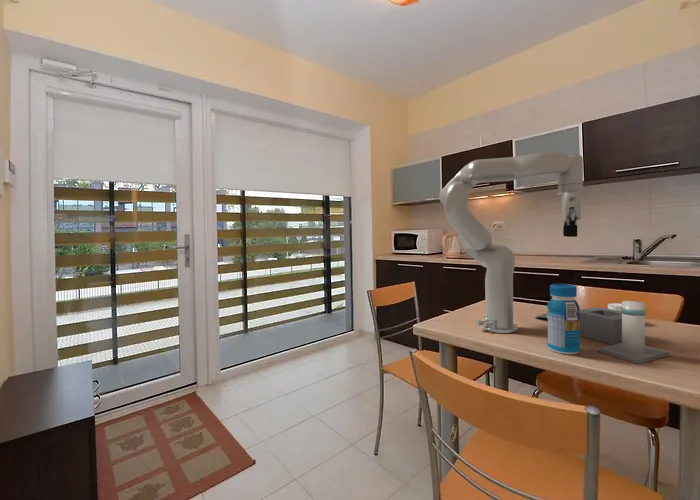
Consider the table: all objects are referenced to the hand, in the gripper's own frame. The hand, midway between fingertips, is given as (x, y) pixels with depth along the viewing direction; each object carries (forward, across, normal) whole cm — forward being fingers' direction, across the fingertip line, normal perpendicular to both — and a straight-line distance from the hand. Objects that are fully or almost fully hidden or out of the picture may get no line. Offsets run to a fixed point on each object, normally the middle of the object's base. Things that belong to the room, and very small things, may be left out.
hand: (570, 236), depth 118 cm
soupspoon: (+35, +3, +4) cm, 35 cm away
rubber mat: (+34, -23, -13) cm, 43 cm away
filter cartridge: (+33, -23, -13) cm, 42 cm away
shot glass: (+34, +13, -17) cm, 40 cm away
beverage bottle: (+34, -28, +4) cm, 45 cm away
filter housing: (+34, -8, -9) cm, 36 cm away
